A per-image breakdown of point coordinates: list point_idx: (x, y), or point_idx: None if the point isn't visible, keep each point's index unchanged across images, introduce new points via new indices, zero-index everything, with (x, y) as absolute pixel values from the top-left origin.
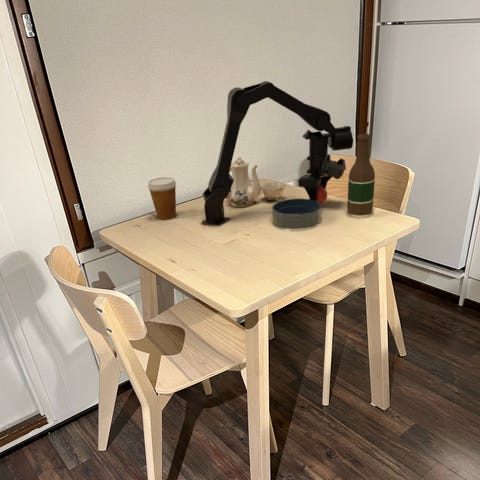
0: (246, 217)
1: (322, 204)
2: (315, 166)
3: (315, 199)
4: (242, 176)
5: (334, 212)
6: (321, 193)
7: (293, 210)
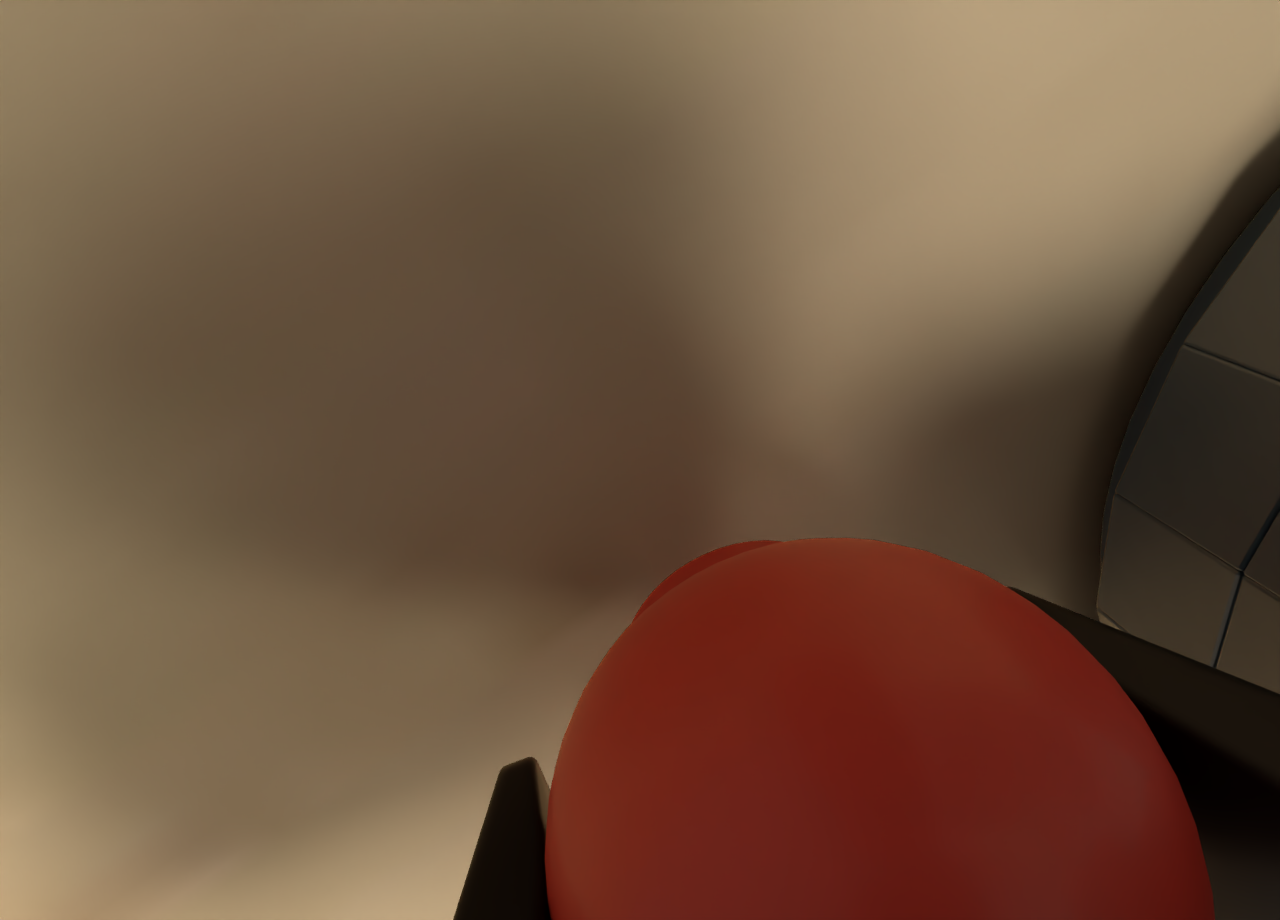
0: None
1: (713, 550)
2: None
3: (1167, 654)
4: None
5: (799, 55)
6: (1134, 760)
7: None
